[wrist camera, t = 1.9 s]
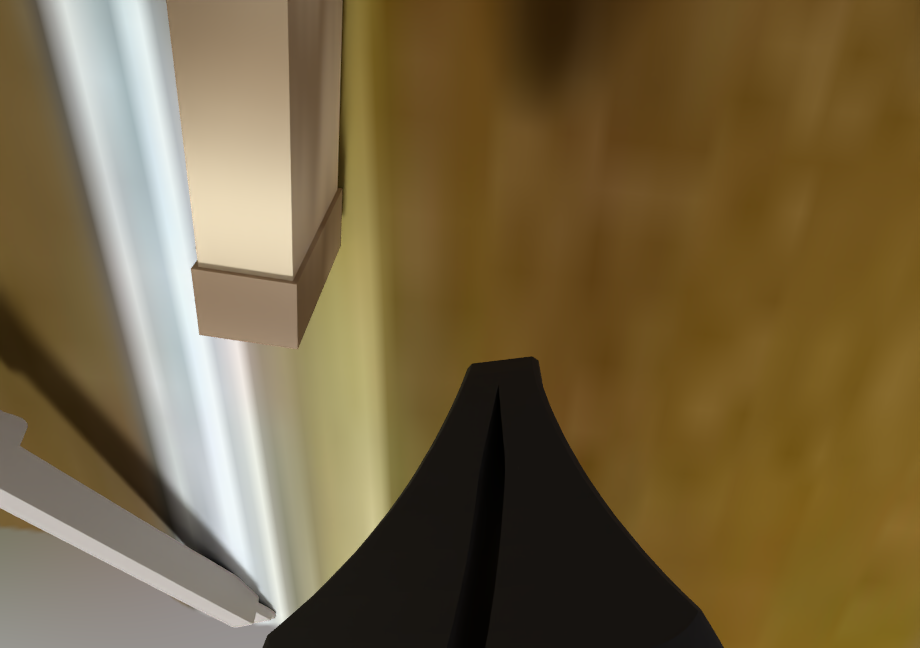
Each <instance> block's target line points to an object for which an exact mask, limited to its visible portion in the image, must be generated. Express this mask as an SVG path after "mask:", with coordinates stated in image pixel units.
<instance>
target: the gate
mask: <svg viewBox="0 0 920 648" xmlns="http://www.w3.org/2000/svg"><path fill="white" fill-rule="evenodd" d="M166 3H167V11H168V19H169V27H170V36H171V44H172V52H173V61H174V69H175V77H176V86H177V94H178V102H179V111H180V119H181V127H182V135H183V144H184V152H185V160H186V169H187V177H188V185H189V194H190V202H191V210H192V218H193V227H194V235H195V243H196V252H197V261H196V263H195V264H194V265H193V267H192V268H191V273H192V280H193V288H194V296H195V304H196V312H197V319H198V327H199V335H204V336H211V337H218V338H225V339H231V340H238V341H245V342H252V343H258V344H265V345H272V346H279V347H286V348H292V349H298V347H299V345H300V342H301V340H302V338H303V335H304V333H305V330H306V328H307V325H308V323H309V321H310V318H311V316H312V313H313V311H314V309H315V306H316V304H317V301H318V299H319V297H320V294H321V292H322V289H323V287H324V284H325V282H326V280H327V277H328V275H329V272H330V270H331V268H332V265H333V263H334V260H335V258H336V256H337V253H338V251H339V248H340V246H341V219H342V189H343V188H338V152H339V116H340V79H341V43H342V6H343V0H166Z"/></svg>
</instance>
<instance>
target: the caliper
mask: <svg viewBox="0 0 920 648" xmlns="http://www.w3.org/2000/svg"><path fill="white" fill-rule="evenodd" d="M27 427H28V426H27V422H26V421H25V420H24V419H22V418H20V417H18V416H15V415H12V414H8V413H5V412H3V411H1V410H0V508H1V509H3V510H5V511H7V512H9V513H11V514H13V515H15V516H17V517H19V518H21V519H23V520H25V521H27V522H28V523H30V524H32V525H34V526H36V527H38V528H40V529H42V530H44V531H46V532H48V533H50V534H52V535H54V536H56V537H58V538H60V539H62V540H63V541H65V542H67V543H69V544H71V545H73V546H75V547H77V548H79V549H81V550H83V551H85V552H87V553H89V554H91V555H92V556H95V557H97V558H98V559H100V560H102V561H104V562H106V563H108V564H110V565H112V566H114V567H116V568H118V569H120V570H122V571H124V572H125V573H127V574H129V575H131V576H133V577H135V578H137V579H139V580H141V581H143V582H145V583H147V584H149V585H151V586H153V587H155V588H156V589H158V590H160V591H162V592H164V593H166V594H168V595H170V596H172V597H174V598H176V599H178V600H180V601H182V602H184V603H186V604H188V605H190V606H192V607H194V608H196V609H198V610H200V611H202V612H204V613H206V614H208V615H210V616H212V617H213V618H215V619H217V620H219V621H221V622H224V623H225V624H227V625H229V626H231V627H233V628H236V627H241V626H246V625H252V624H253V623H258V622H263V621H269V620H271V619H273V618H275V617H276V614H275V612H274V611H273V610H271V609H270V608H268V607H266V606H264V605H262V604H260V603H258V601H259V596H258V595H257V594H256V593H255V592H254V591H252V590H251V589H250V588H249V587H248V586H247V585H246V584H245V583H244V582H243V581H242V580H241V579H240V578H239V577H238V576H236V575H234V574H233V573H231V572H229V571H228V570H226V569H224V568H223V567H221V566H219V565H217V564H216V563H214V562H212V561H211V560H209V559H207V558H206V557H204V556H202V555H200V554H199V553H197V552H195V551H194V550H192V549H190V548H189V547H187V546H185V545H183V544H182V543H180V542H178V541H177V540H175V539H173V538H172V537H170V536H168V535H166V534H165V533H163V532H161V531H160V530H158V529H156V528H155V527H153V526H151V525H150V524H148V523H146V522H145V521H143V520H141V519H140V518H138V517H136V516H135V515H133V514H131V513H130V512H128V511H126V510H125V509H123V508H121V507H120V506H118V505H116V504H115V503H113V502H111V501H110V500H108V499H106V498H105V497H103V496H102V495H100V494H98V493H97V492H95V491H93V490H92V489H90V488H88V487H87V486H85V485H83V484H82V483H80V482H78V481H77V480H75V479H73V478H72V477H70V476H68V475H67V474H65V473H63V472H62V471H60V470H58V469H57V468H55V467H54V466H52V465H50V464H49V463H47V462H45V461H44V460H42V459H40V458H39V457H37V456H35V455H34V454H32V453H30V452H29V451H27V450H25V449H24V448H22V447H20V444H21V441H22V439H23V437H24V434H25V432H26V430H27Z"/></svg>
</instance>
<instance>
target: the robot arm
mask: <svg viewBox="0 0 920 648" xmlns="http://www.w3.org/2000/svg"><path fill="white" fill-rule="evenodd" d="M263 648H724V647H723V646H722V644H721V642H720V640H719V639H718V637H717V635H716V634H715V632H714V630H713V629H712V627H711V625H710V624H709V622H708V620H707V619H706V617H705V615H704V613H703V612H702V610H701V609H700V608H699V607H698V606H697V605H696V604H695V603H694V602H693V601H692V600H691V599H689V598H688V597H687V596H686V595H685V594H684V593H683V592H682V591H681V590H680V589H679V588H678V587H677V586H676V585H675V584H674V583H673V582H672V581H671V580H670V579H669V578H668V577H667V576H666V574H665V573H664V572H663V571H662V570H661V569H660V568H659V567H658V566H657V565H656V564H655V562H654V561H653V560H652V559H651V558H650V557H649V556H648V555H647V554H646V553H645V551H644V550H643V549H642V548H641V547H640V545H639V544H638V543H637V542H636V541H635V539H634V538H633V537H632V536H631V535H630V533H629V532H628V531H627V530H626V528H625V527H624V526H623V525H622V524H621V522H620V521H619V520H618V519H617V517H616V516H615V515H614V513H613V512H612V511H611V509H610V508H609V507H608V505H607V504H606V503H605V501H604V500H603V498H602V497H601V496H600V494H599V493H598V491H597V490H596V488H595V487H594V485H593V484H592V482H591V481H590V479H589V478H588V476H587V475H586V473H585V471H584V470H583V468H582V467H581V465H580V463H579V462H578V460H577V458H576V456H575V455H574V453H573V451H572V449H571V448H570V446H569V444H568V442H567V440H566V438H565V437H564V435H563V433H562V431H561V428H560V426H559V424H558V422H557V420H556V418H555V416H554V414H553V412H552V409H551V407H550V404H549V402H548V399H547V396H546V394H545V391H544V388H543V384H542V378H541V373H540V367H539V361H538V360H537V359H535V358H534V357H524V358H515V359H507V360H499V361H491V362H483V363H474V364H471V365H470V367H469V368H468V369H467V372H466V374H465V377H464V379H463V382H462V384H461V387H460V389H459V392H458V394H457V396H456V398H455V400H454V403H453V405H452V407H451V409H450V411H449V413H448V415H447V417H446V419H445V421H444V423H443V425H442V427H441V429H440V431H439V433H438V435H437V437H436V439H435V440H434V442H433V444H432V446H431V447H430V449H429V451H428V452H427V454H426V456H425V458H424V459H423V461H422V463H421V464H420V466H419V468H418V469H417V471H416V473H415V474H414V476H413V477H412V479H411V480H410V482H409V483H408V485H407V486H406V488H405V489H404V491H403V492H402V494H401V495H400V497H399V498H398V499H397V501H396V502H395V503H394V505H393V506H392V508H391V509H390V510H389V512H388V513H387V514H386V516H385V517H384V518H383V519H382V521H381V522H380V523H379V524H378V526H377V527H376V528H375V529H374V531H373V532H372V533H371V534H370V536H369V537H368V538H367V539H366V540H365V542H364V543H363V544H362V545H361V546H360V547H359V548H358V550H357V551H356V552H355V553H354V554H353V555H352V556H351V557H350V558H349V559H348V560H347V561H346V562H345V564H344V565H343V566H342V567H341V568H340V569H339V570H338V571H337V572H336V573H335V574H334V575H333V576H332V577H331V578H330V579H329V580H328V581H327V582H326V583H325V584H324V585H323V586H322V587H321V588H320V589H319V590H318V591H317V592H316V593H315V594H314V595H313V596H312V597H311V598H310V599H309V600H308V601H307V602H305V603H304V604H303V605H302V606H301V607H300V608H299V609H297V610H296V611H295V612H294V613H293V614H292V615H291V616H289V617H288V618H287V619H286V620H285V621H284V622H283V623H281V624H280V625H279V626H278V627H277V628H276V629H274V631H272V632H271V633H270V634H268V636H267V638H266V640H265V643H264V646H263Z"/></svg>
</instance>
